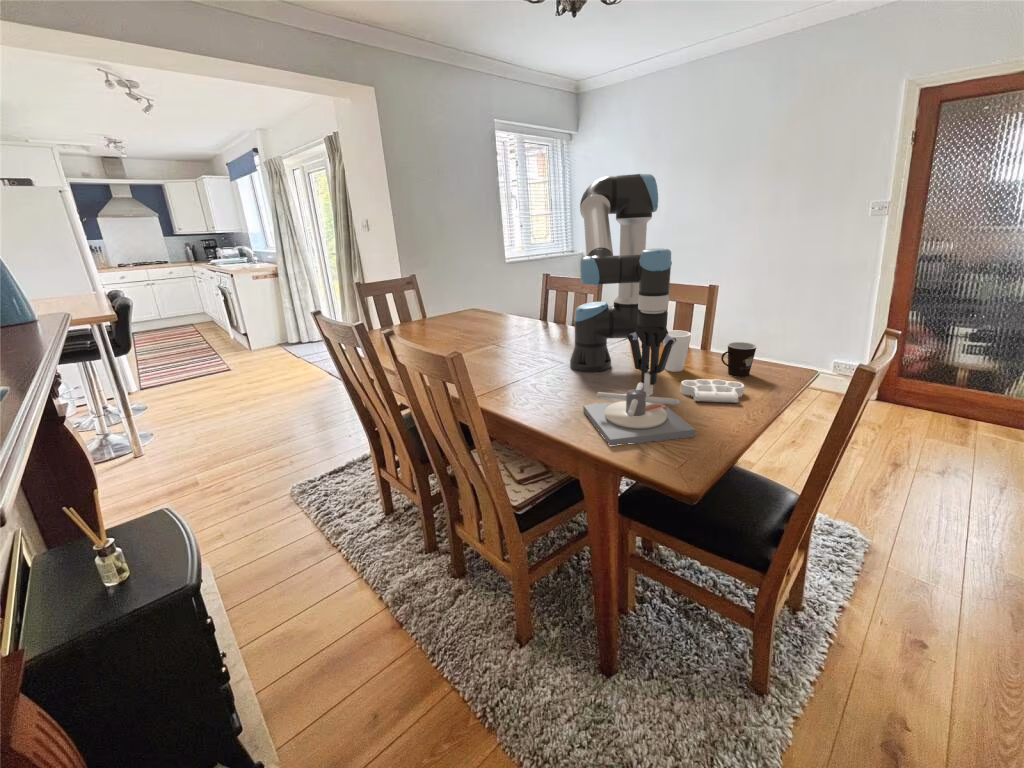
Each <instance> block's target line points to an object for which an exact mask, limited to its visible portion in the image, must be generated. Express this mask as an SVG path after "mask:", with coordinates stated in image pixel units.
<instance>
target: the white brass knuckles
mask: <svg viewBox="0 0 1024 768" xmlns="http://www.w3.org/2000/svg"><path fill="white" fill-rule="evenodd" d="M679 391H680V393H681V394H683V395H685V396H690V395H691V397H693V398H692V399H693V400H694V399H695V401H694V402H696V401H698V402H703V403H704V402H706V403H708V402H709V403H731V404H738V403H739V398H741V397H743V396H744V391H745V385H744V383H743V382H739V381H734V380H733V381H731V380H730V381H728V380H723V379H715V378H713V379H707V378H697V379H684V380H682V381H681V382H680V390H679ZM742 395H743V396H742ZM740 396H741V397H740Z"/></svg>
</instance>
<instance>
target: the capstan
mask: <svg viewBox="0 0 1024 768" xmlns="http://www.w3.org/2000/svg"><path fill="white" fill-rule="evenodd" d="M596 396H597V398H598V399H607V400H618V401H615V402H616V403H613V404H611V405H609V406H608V407H606V409H605V417H606V419H607V420H608V421H610V422H611V423H613V424H616V425H618V426H622V427H627V428H635V429H645V428H652V427H656V426H659V425H661V424H663V423H664V422H665V421H666V419H667V413H666V411H665V410H664V409H663V408H662V407H661V406H662V405H661V404H664V405H671V406H672V405H674V406H678V405H680V403H681V401H680V399H679V398H673V397H661V396H660V397H659V396H651V395H650V396H646V392H645V391H644V383H642V382H638V383H637V386H636V388H635V389H629V390H627V391H626V393H615V392H603V391H598V392H597V394H596ZM619 400H620V401H621V402H619ZM648 402H649V403H648ZM652 403H658V404H652ZM659 403H660V404H659Z"/></svg>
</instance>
